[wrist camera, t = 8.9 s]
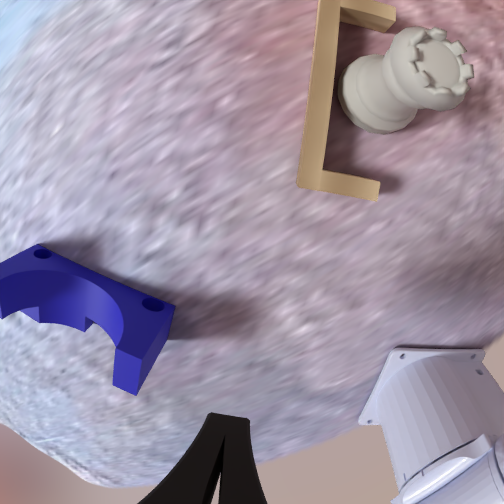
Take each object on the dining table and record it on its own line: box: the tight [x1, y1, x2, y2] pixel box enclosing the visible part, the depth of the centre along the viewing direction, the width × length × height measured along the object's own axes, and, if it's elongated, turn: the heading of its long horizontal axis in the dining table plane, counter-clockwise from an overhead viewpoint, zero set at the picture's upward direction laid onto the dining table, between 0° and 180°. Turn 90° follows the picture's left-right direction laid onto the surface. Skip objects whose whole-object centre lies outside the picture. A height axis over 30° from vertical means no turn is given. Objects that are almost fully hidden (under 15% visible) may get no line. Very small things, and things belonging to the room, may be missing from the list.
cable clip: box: [0, 244, 175, 396], centre depth 17 cm, size 12×4×6 cm, turn 70°
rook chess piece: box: [338, 26, 474, 134], centre depth 10 cm, size 4×4×8 cm
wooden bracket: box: [296, 0, 396, 202], centre depth 13 cm, size 4×11×2 cm, turn 173°
